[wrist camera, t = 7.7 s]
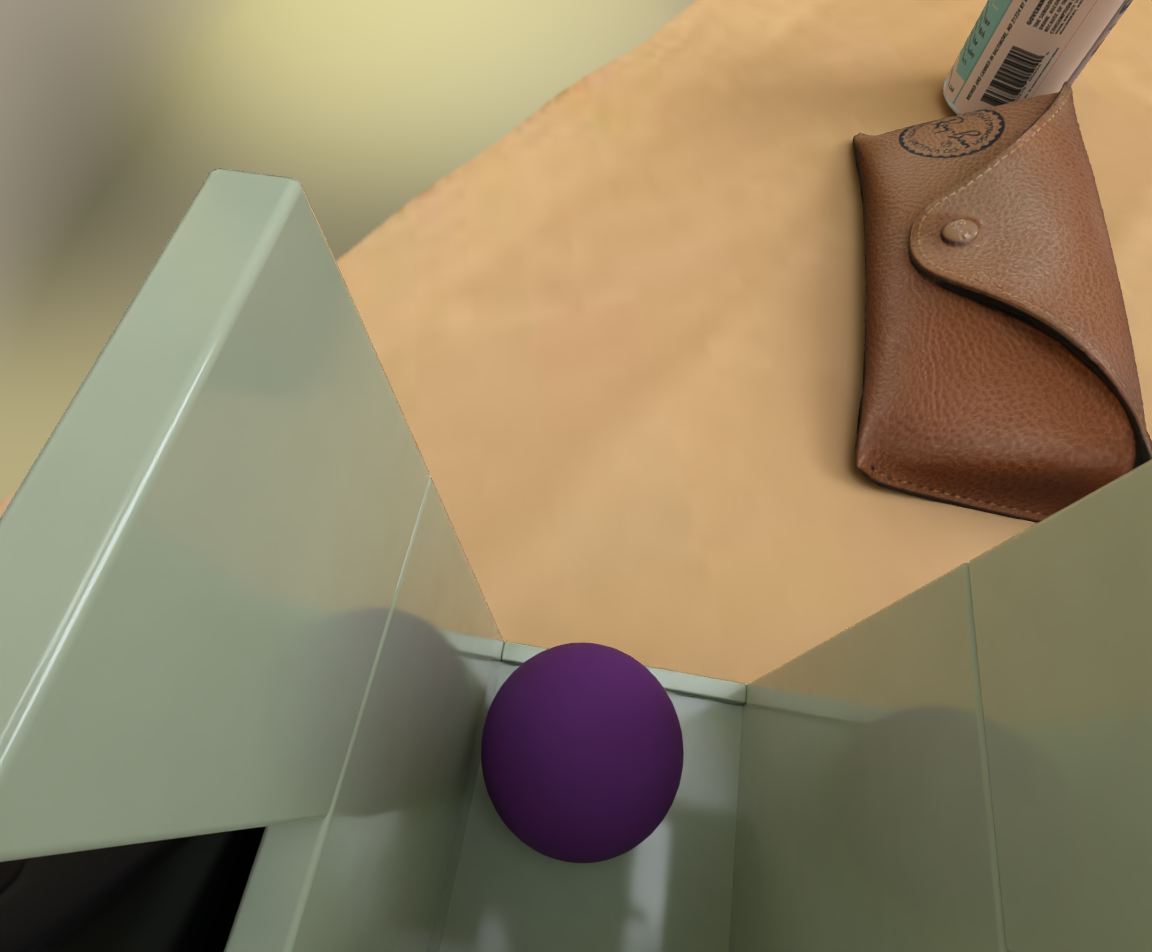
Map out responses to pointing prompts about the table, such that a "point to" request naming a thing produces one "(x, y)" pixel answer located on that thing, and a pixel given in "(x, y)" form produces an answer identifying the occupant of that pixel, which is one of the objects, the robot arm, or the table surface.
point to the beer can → (1027, 50)
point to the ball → (582, 753)
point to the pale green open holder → (484, 662)
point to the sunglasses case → (993, 315)
